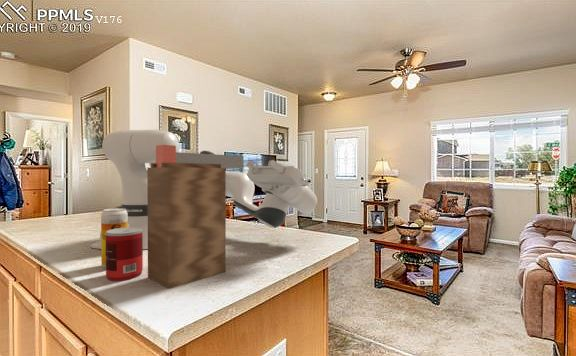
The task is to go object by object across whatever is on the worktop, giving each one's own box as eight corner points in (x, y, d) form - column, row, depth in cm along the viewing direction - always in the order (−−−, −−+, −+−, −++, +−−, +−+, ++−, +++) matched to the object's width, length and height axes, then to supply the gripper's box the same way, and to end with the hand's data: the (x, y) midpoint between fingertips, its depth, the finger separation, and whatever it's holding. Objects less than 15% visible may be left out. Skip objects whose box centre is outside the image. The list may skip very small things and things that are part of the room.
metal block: (235, 168, 87) (235, 151, 87) (243, 168, 85) (243, 150, 84) (155, 167, 70) (155, 145, 70) (163, 167, 67) (163, 144, 67)
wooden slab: (203, 263, 83) (203, 164, 83) (225, 271, 77) (225, 164, 76) (147, 277, 72) (147, 163, 71) (168, 288, 65) (168, 162, 65)
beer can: (104, 270, 77) (104, 211, 76) (99, 265, 81) (98, 209, 81) (130, 266, 81) (130, 209, 80) (124, 261, 85) (123, 207, 85)
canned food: (148, 270, 77) (148, 227, 77) (131, 281, 69) (130, 233, 69) (119, 269, 78) (118, 226, 77) (98, 281, 70) (98, 233, 69)
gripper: (307, 194, 92) (281, 171, 83) (260, 192, 105) (233, 171, 96) (314, 176, 94) (288, 152, 85) (267, 176, 108) (241, 155, 99)
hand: (258, 162), depth 91 cm, fingers open, 8 cm apart
